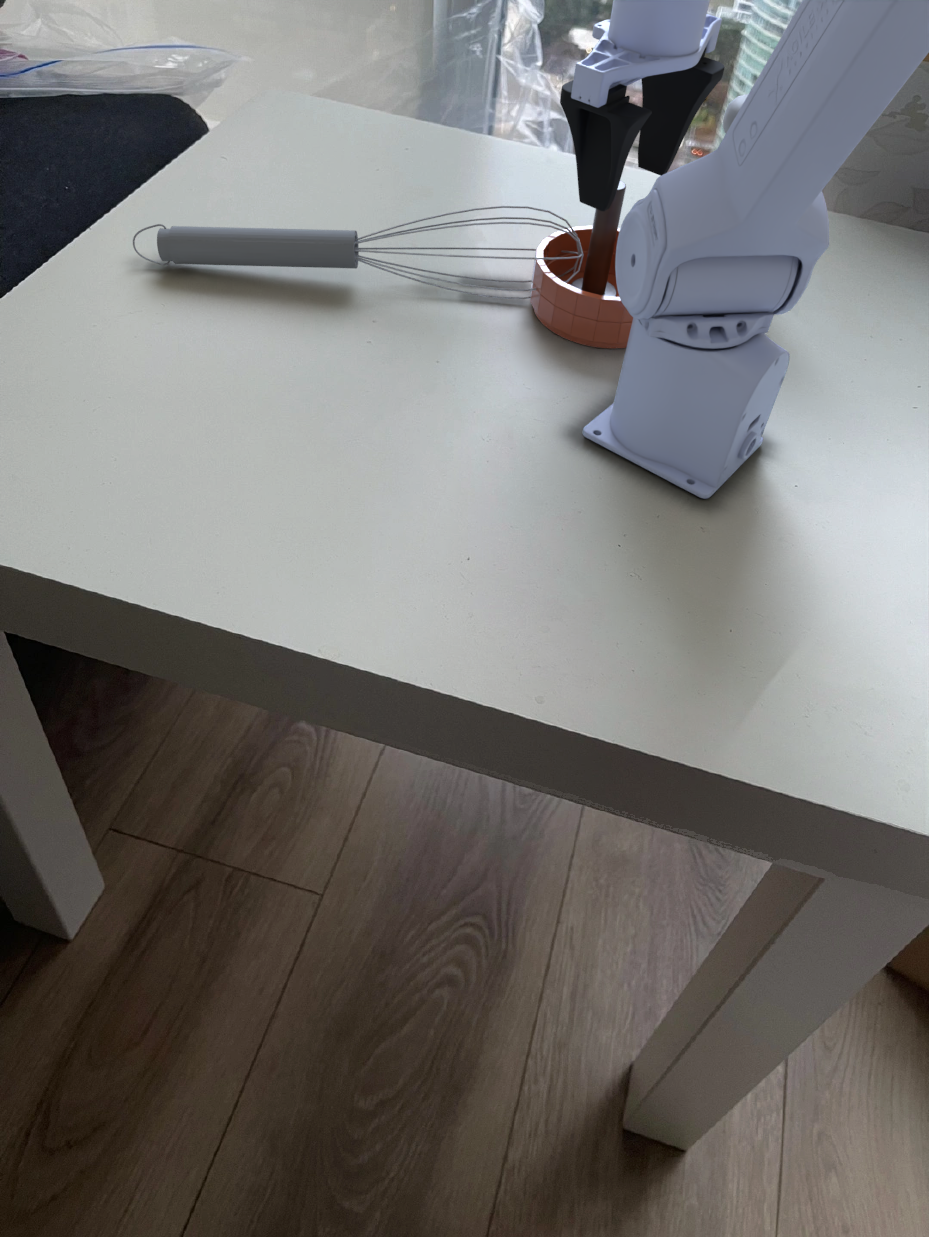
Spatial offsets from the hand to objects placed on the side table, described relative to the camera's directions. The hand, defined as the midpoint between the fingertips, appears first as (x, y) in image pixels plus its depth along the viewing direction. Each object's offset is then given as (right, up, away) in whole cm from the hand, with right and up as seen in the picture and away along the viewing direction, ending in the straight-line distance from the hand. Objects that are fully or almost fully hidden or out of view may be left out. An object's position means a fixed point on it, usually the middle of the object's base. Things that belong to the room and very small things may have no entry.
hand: (624, 187), depth 66 cm
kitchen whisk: (-19, -4, +7) cm, 20 cm away
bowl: (-1, -6, +7) cm, 9 cm away
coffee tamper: (-1, -5, +7) cm, 9 cm away
